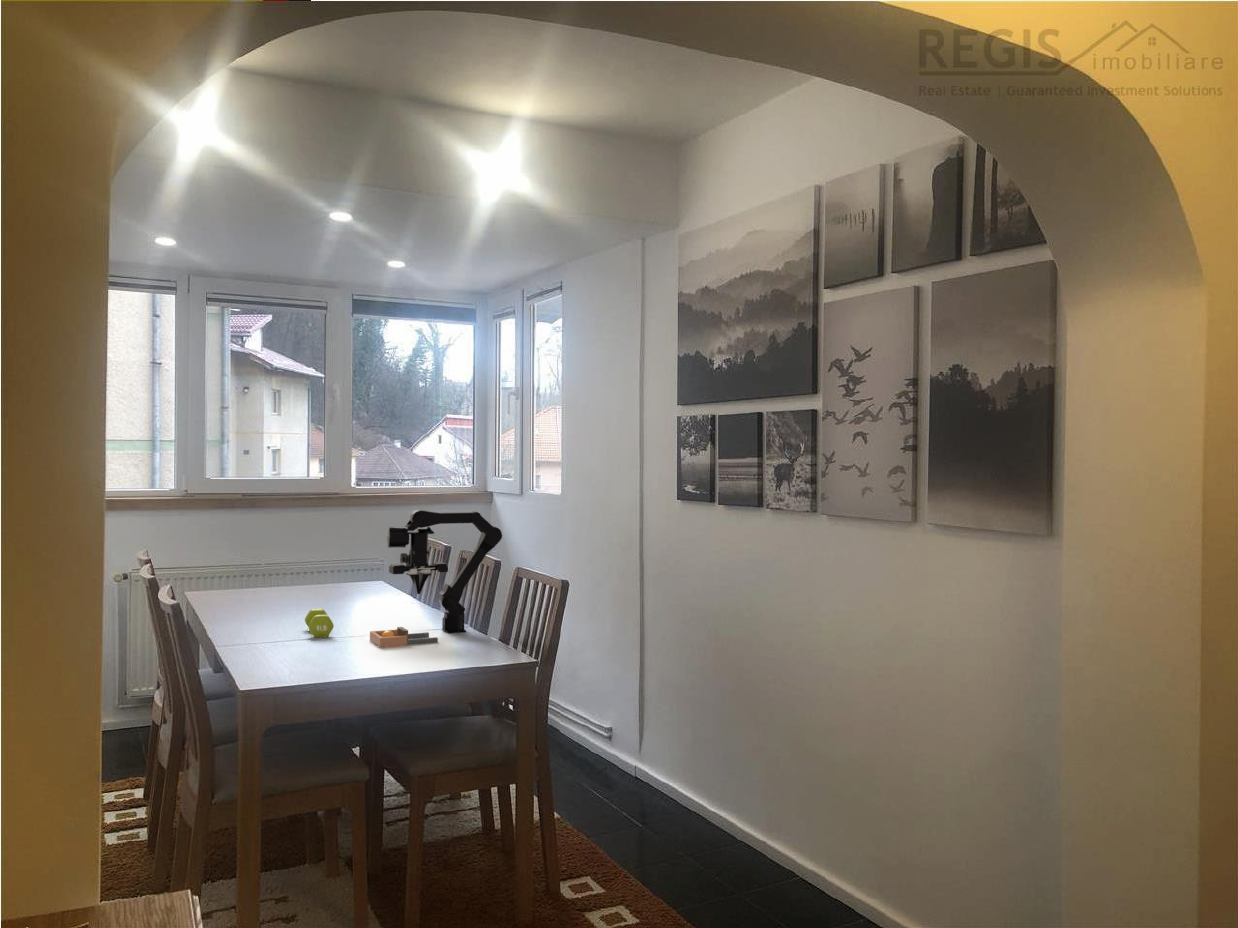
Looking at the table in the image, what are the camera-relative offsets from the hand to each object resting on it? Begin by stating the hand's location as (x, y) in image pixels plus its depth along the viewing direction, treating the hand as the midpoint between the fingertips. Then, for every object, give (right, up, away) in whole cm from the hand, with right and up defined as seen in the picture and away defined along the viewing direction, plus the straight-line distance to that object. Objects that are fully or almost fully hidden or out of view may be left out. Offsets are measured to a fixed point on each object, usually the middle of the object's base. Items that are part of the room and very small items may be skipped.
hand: (418, 593), depth 315 cm
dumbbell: (-32, -13, -4) cm, 35 cm away
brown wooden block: (-2, -13, -16) cm, 20 cm away
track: (+3, -13, -13) cm, 19 cm away
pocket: (-5, -13, -18) cm, 23 cm away
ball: (-6, -11, -18) cm, 22 cm away
